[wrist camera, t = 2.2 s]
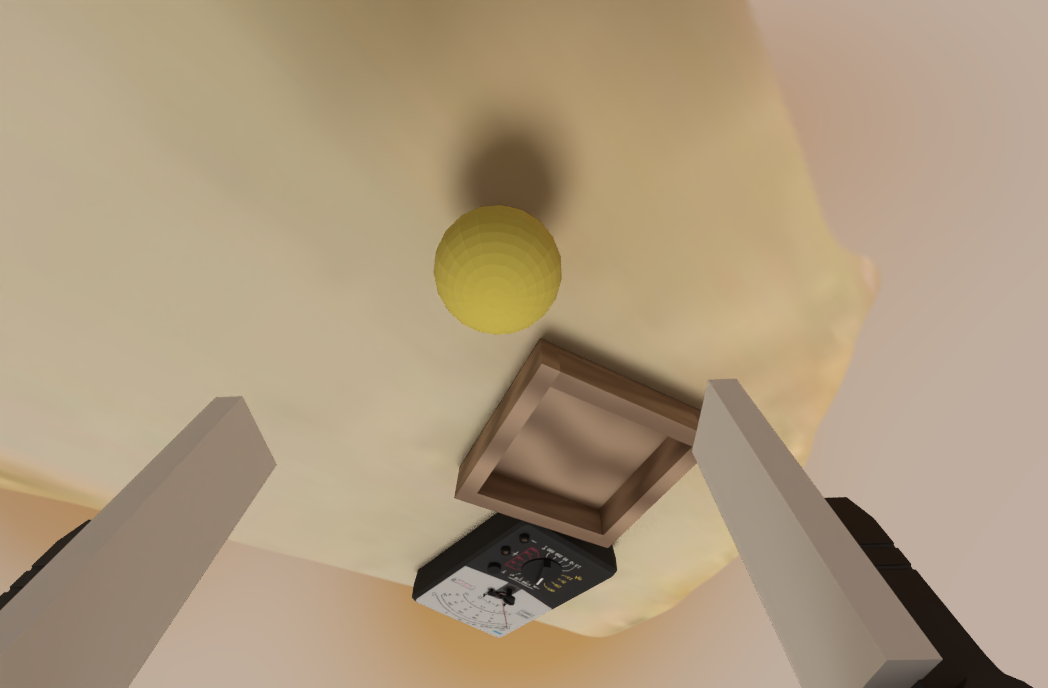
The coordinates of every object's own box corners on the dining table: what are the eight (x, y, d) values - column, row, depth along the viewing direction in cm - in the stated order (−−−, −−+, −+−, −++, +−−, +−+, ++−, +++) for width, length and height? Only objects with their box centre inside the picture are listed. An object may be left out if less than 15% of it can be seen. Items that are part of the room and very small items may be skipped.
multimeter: (614, 541, 46) (623, 587, 42) (500, 608, 53) (498, 653, 49) (527, 487, 41) (527, 532, 37) (415, 568, 49) (405, 614, 45)
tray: (540, 338, 32) (541, 363, 29) (704, 412, 36) (720, 440, 33) (459, 467, 39) (454, 498, 36) (602, 517, 43) (607, 548, 40)
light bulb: (433, 240, 28) (393, 306, 19) (494, 157, 25) (479, 191, 17) (511, 298, 30) (506, 381, 22) (575, 227, 27) (597, 290, 19)
